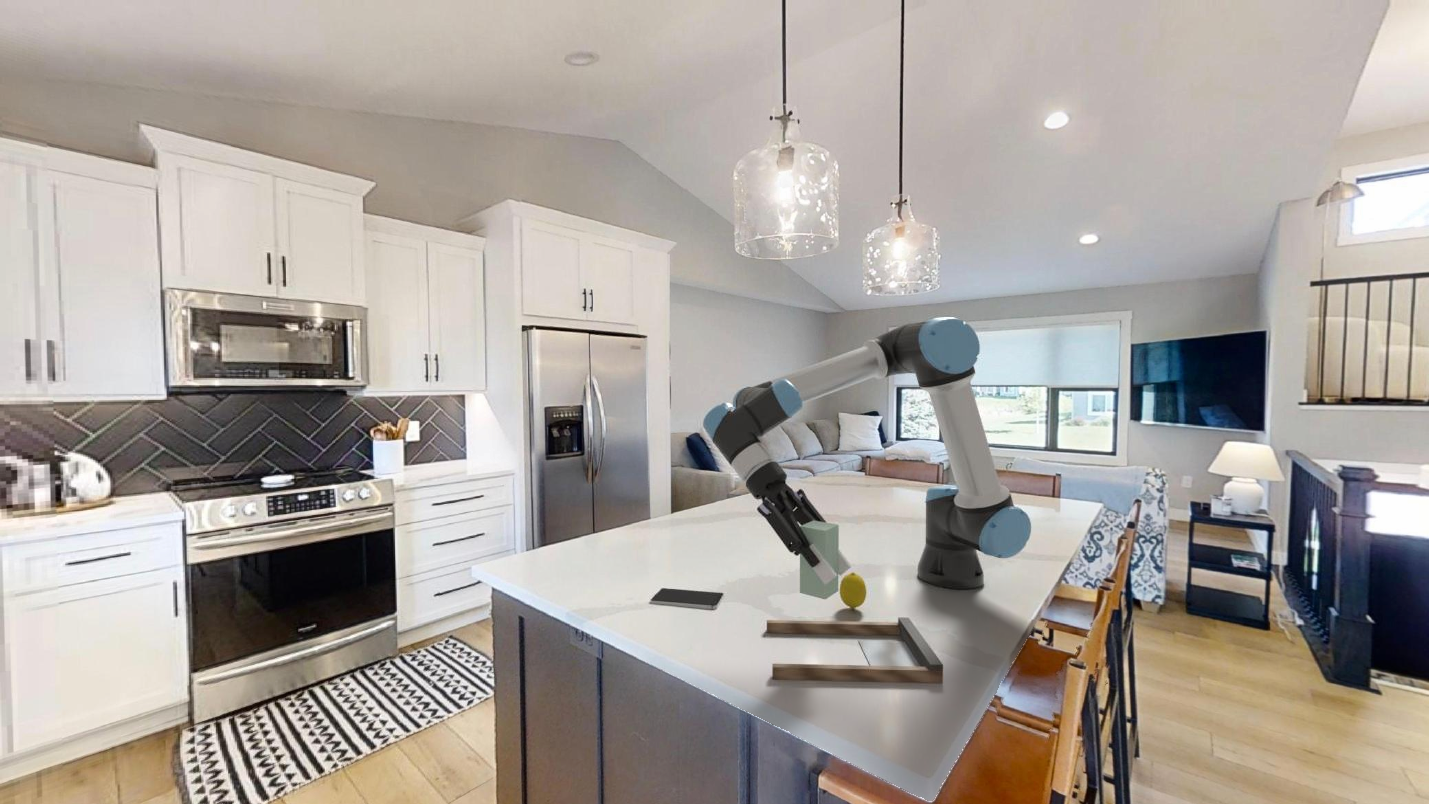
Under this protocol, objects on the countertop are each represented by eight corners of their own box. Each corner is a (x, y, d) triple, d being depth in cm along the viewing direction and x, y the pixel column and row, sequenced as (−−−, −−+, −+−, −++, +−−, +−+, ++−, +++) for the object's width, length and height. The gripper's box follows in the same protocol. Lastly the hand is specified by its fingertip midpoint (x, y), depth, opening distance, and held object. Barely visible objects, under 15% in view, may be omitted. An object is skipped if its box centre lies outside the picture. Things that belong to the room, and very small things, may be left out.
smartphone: (661, 587, 132) (724, 592, 129) (661, 592, 132) (724, 597, 129) (649, 600, 124) (716, 605, 121) (649, 605, 124) (716, 611, 121)
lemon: (851, 616, 117) (851, 578, 117) (834, 607, 122) (834, 570, 122) (871, 611, 120) (872, 574, 120) (853, 602, 125) (854, 566, 125)
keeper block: (813, 584, 104) (813, 520, 104) (838, 590, 101) (838, 524, 101) (799, 592, 101) (799, 526, 100) (825, 599, 97) (825, 530, 97)
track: (908, 632, 110) (908, 617, 110) (942, 682, 92) (943, 664, 92) (766, 630, 111) (766, 615, 111) (772, 679, 93) (772, 661, 93)
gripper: (773, 477, 117) (847, 573, 107) (720, 491, 103) (799, 603, 93) (796, 454, 113) (874, 550, 104) (743, 465, 99) (828, 578, 90)
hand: (838, 575), depth 98 cm, fingers closed on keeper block, 5 cm apart
